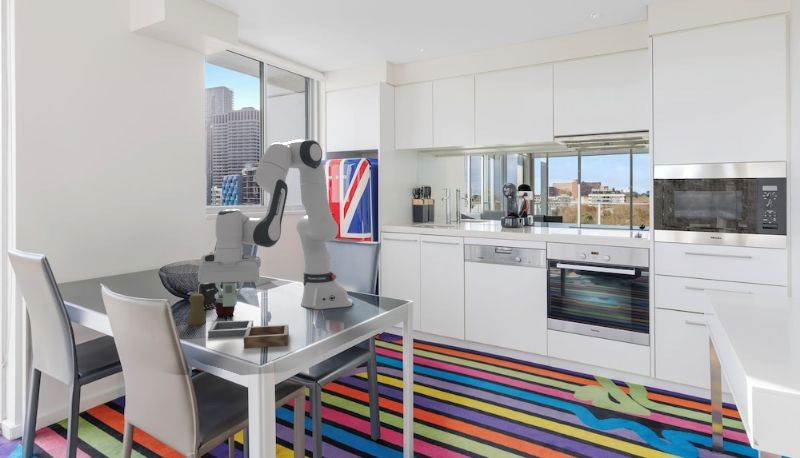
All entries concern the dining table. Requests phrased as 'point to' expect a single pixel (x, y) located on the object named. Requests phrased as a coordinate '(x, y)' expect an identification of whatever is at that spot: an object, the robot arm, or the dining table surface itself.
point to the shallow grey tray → (229, 332)
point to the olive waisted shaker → (196, 310)
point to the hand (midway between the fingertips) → (229, 294)
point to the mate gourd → (223, 309)
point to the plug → (229, 294)
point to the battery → (208, 294)
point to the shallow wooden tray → (266, 336)
